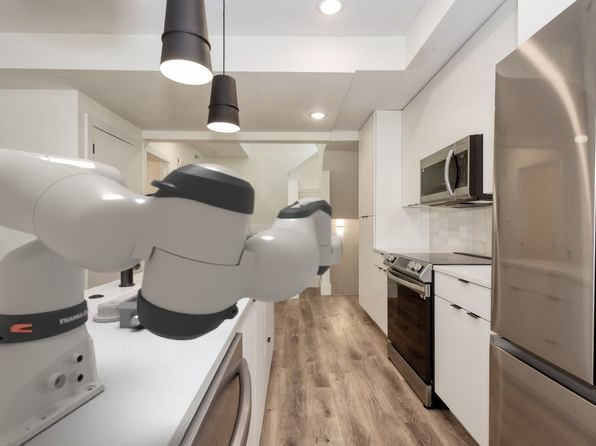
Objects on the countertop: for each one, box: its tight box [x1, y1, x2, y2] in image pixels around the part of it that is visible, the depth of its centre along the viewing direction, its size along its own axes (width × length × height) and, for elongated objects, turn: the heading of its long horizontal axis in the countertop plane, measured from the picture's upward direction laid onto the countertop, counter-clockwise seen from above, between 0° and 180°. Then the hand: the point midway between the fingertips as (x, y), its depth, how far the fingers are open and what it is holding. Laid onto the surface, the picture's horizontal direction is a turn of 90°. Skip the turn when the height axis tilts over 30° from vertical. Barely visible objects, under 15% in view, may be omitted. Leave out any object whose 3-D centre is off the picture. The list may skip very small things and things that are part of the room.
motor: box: [119, 294, 146, 329], centre depth 88 cm, size 14×11×6 cm
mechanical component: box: [92, 300, 124, 323], centre depth 94 cm, size 10×4×10 cm
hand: (227, 250), depth 85 cm, fingers open, 8 cm apart
